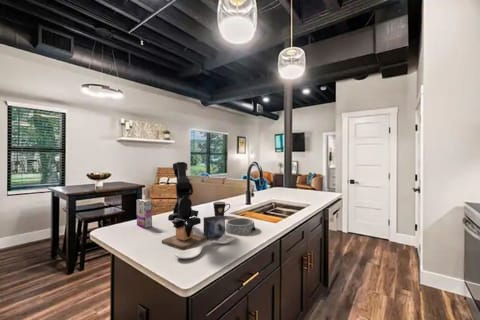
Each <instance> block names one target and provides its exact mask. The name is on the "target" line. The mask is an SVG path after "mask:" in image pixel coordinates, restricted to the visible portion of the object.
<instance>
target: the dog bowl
mask: <svg viewBox="0 0 480 320" xmlns="http://www.w3.org/2000/svg"><path fill="white" fill-rule="evenodd" d="M253 229H255V230H257V229H256V226H255V222H254V220H253V219H251V218H247V217H238V218H237V217H235V218H231V219H228V220H227V221H225V233H227V235H228V234H229V235H234V236H247V235H251V234H252V230H253Z"/></svg>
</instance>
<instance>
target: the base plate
mask: <svg viewBox="0 0 480 320" xmlns="http://www.w3.org/2000/svg"><path fill="white" fill-rule="evenodd" d="M206 241H208V240H207V237H204V236H203V235H200V234H197V233H193V237H192V238H189V239H187V240H184V241H183V240H180V239H177V238H176V234H174V235H173V236H169V237H166V238H163V239H161V244H163V245H166V246H169V247H172V248H175V249H178V250H181V251H184V250H188V249H190V248H192V247H193V246H196V245H198V244H201V243H203V242H206Z"/></svg>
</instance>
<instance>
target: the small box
mask: <svg viewBox="0 0 480 320" xmlns="http://www.w3.org/2000/svg"><path fill="white" fill-rule="evenodd" d="M225 228H226V218H225V216H224V217H223V216H221V215H220V216H215V215H214V216H206V217H205V216H204V217H203V235H202V236H204V237H207V240H206V241H208V240H209V241H210V240H212V239H213V240H214V239H219V238H220V237H221V236H222V235H223V234H224V233H226V232H225Z"/></svg>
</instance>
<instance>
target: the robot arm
mask: <svg viewBox="0 0 480 320" xmlns="http://www.w3.org/2000/svg"><path fill="white" fill-rule="evenodd" d="M172 171H173V173H174V175H175V178H176V183H175V196H176V201H175V203H174V206H173V209H172V210H173V211H172V212H173V213H171V214H169V215H168V217H167V218H168V219H167V220H168V221H169V222H171V223H172V225H173V226H172V227H173V228H175V229H176V228H179V227H182V226H185V229H186V234H187V237H189V236H190V234H191V231H192V228H193V229H194V226H196V225H199V224H201V222H202V221H201V220H202V219H201V218H200V217H198V216H199V210H196V209H193V207H192V204H193V203H192V200H191V198H190V196H193V194H194V189H193V184H192V183H191V181H190V178H189V177H188V176H187V171H188V163H187V162H185V161H177V162H175V163H172Z"/></svg>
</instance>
